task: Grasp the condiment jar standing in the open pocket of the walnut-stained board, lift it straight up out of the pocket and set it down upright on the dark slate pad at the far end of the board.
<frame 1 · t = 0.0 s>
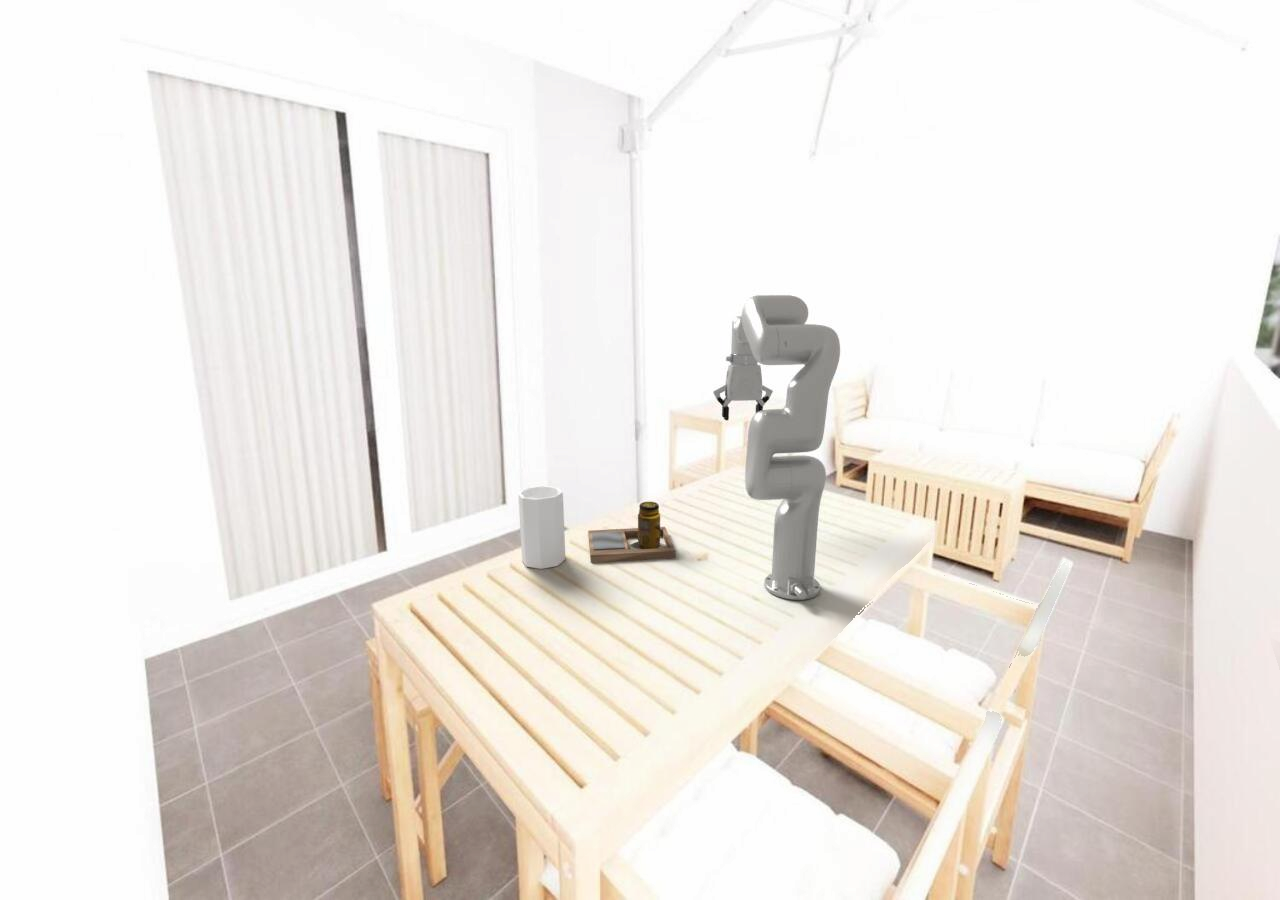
hand: (742, 419, 175), 31 cm above the table, fingers open, 9 cm apart
cup: (543, 560, 155), on the table
pocket board: (630, 547, 163), on the table
condiment: (646, 547, 163), resting in pocket board
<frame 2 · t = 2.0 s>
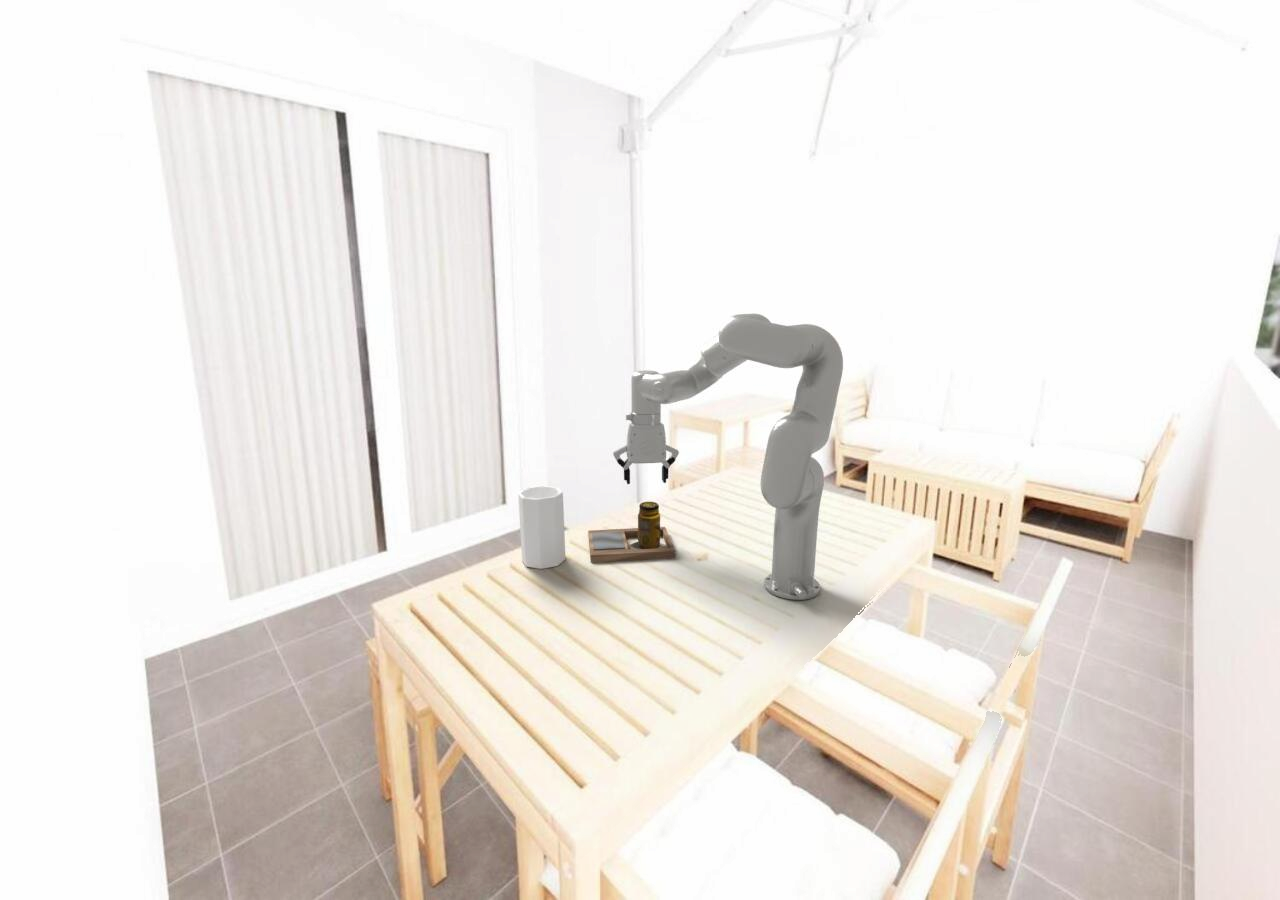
hand: (646, 482, 159), 18 cm above the table, fingers open, 9 cm apart
nothing on the table moved.
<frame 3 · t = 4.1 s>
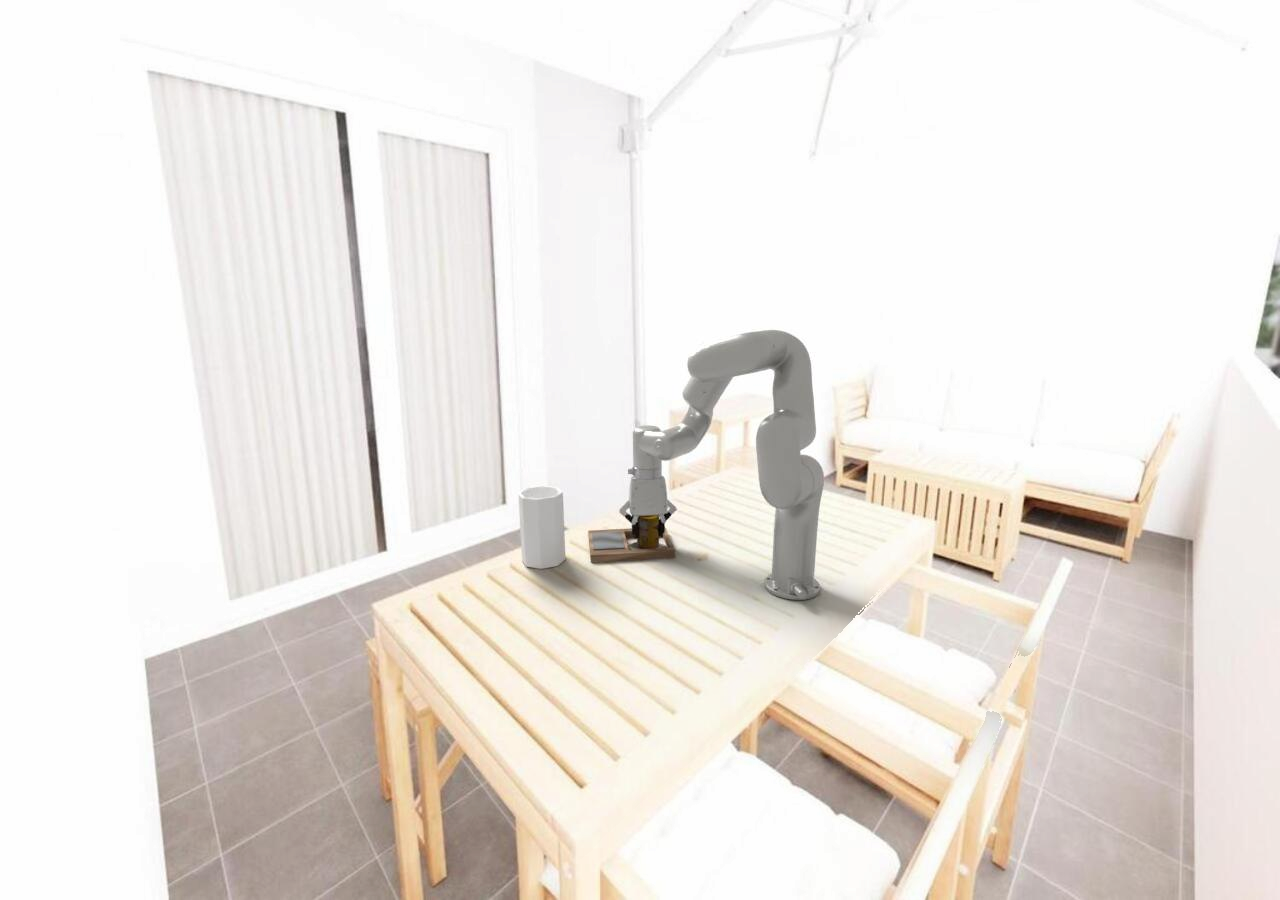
hand: (648, 535, 163), 3 cm above the table, fingers closed on condiment, 6 cm apart
condiment: (645, 547, 163), resting in pocket board, touching gripper
everything else where it was.
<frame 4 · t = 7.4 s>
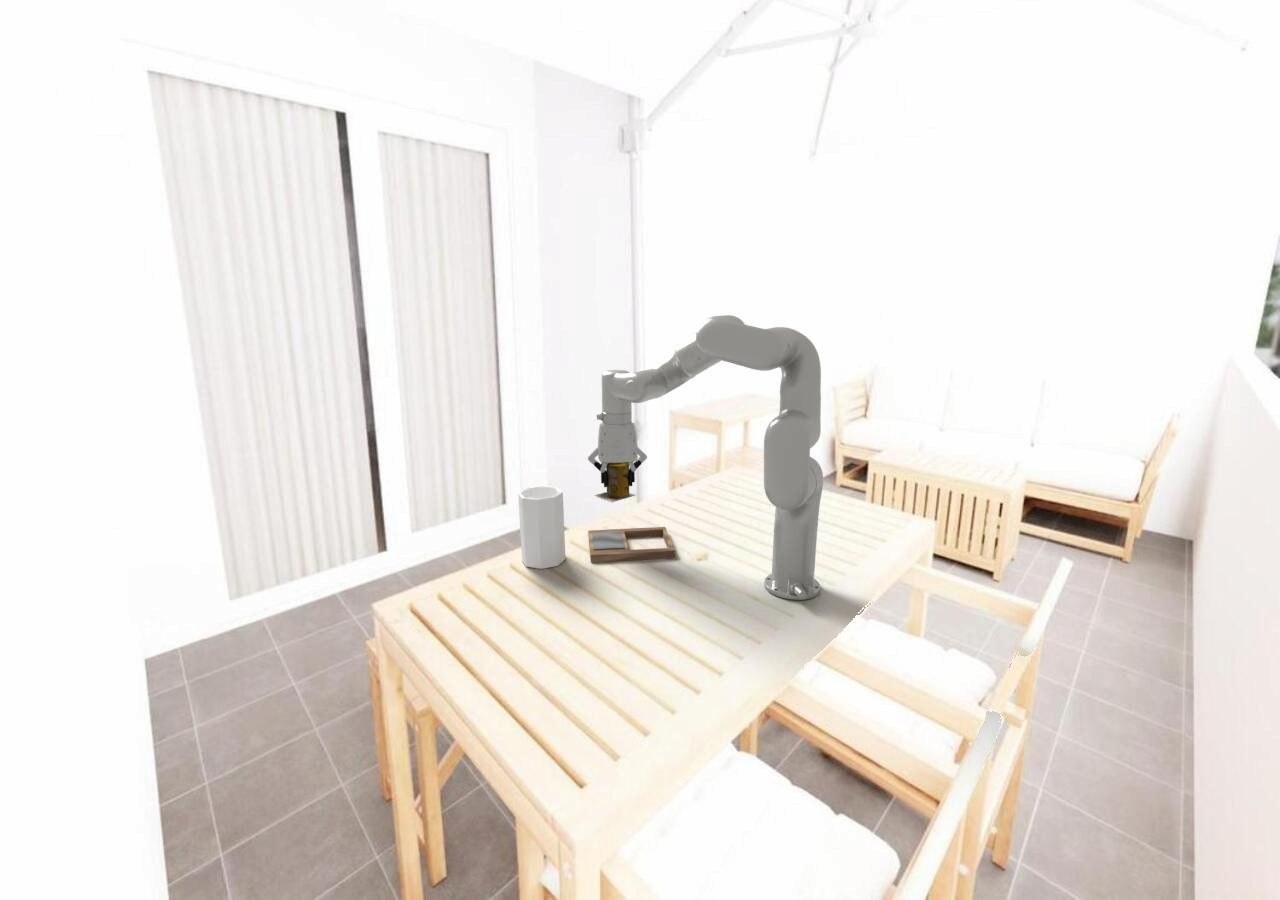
hand: (617, 484, 158), 18 cm above the table, fingers closed on condiment, 6 cm apart
condiment: (615, 496, 159), point 15 cm above the table, touching gripper
everything else where it was.
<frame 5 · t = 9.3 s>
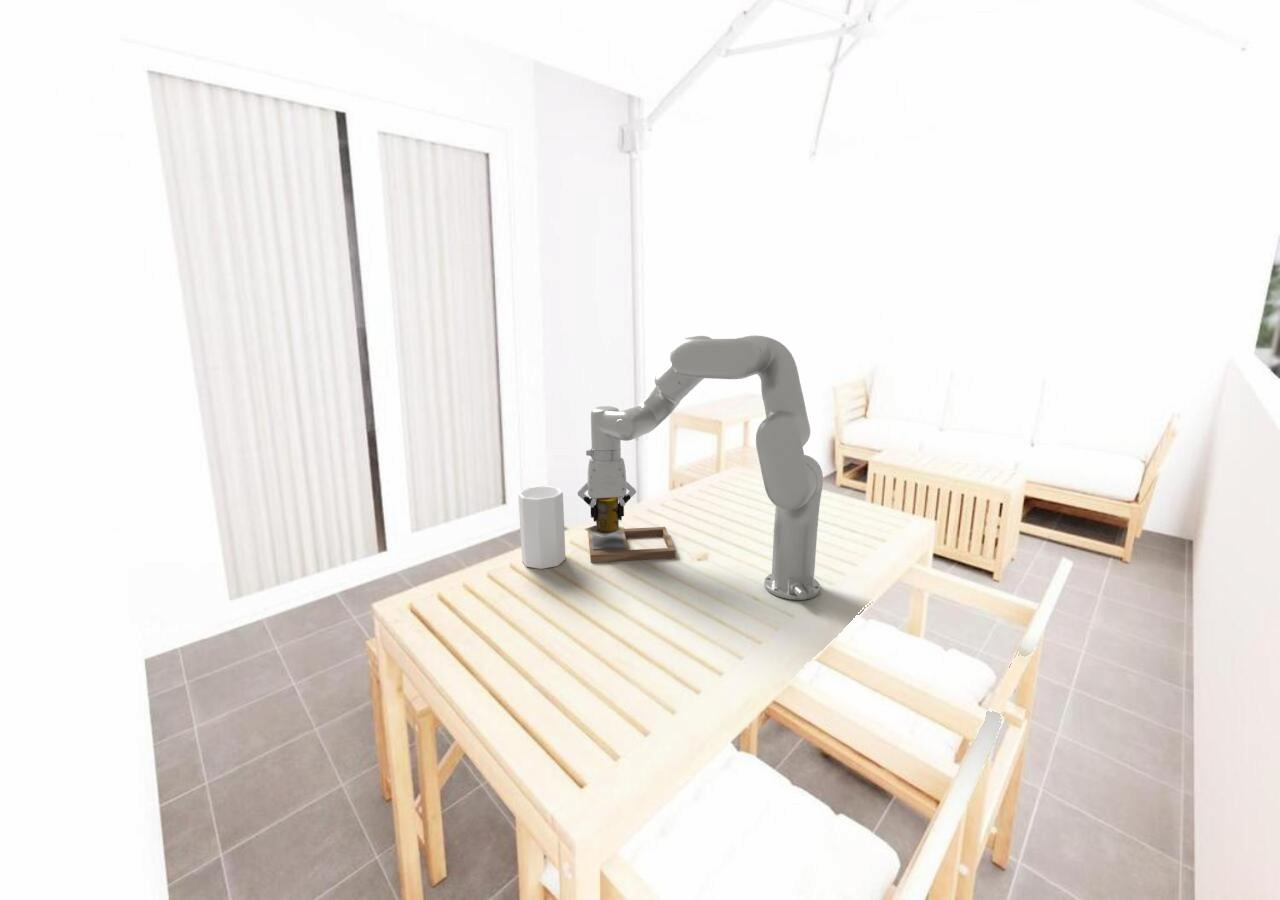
hand: (607, 518, 160), 8 cm above the table, fingers closed on condiment, 6 cm apart
condiment: (604, 530, 161), point 5 cm above the table, touching gripper
everything else where it was.
when the fingers open (7 cm above the table, at t = 10.6 s): condiment drops 1 cm, resting on pocket board.
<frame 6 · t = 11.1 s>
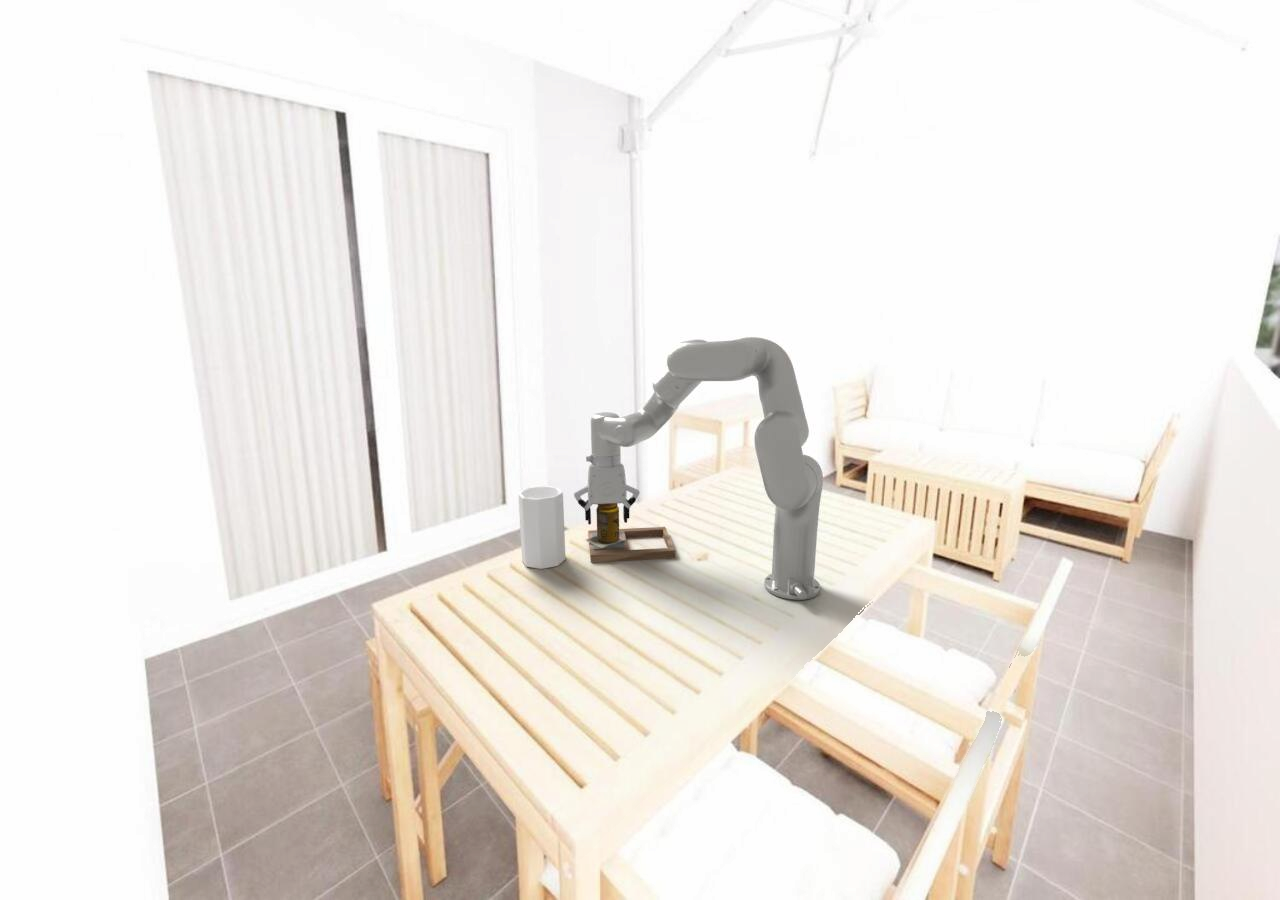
hand: (607, 521, 160), 8 cm above the table, fingers open, 9 cm apart
condiment: (605, 541, 162), point 2 cm above the table, touching pocket board
everything else where it was.
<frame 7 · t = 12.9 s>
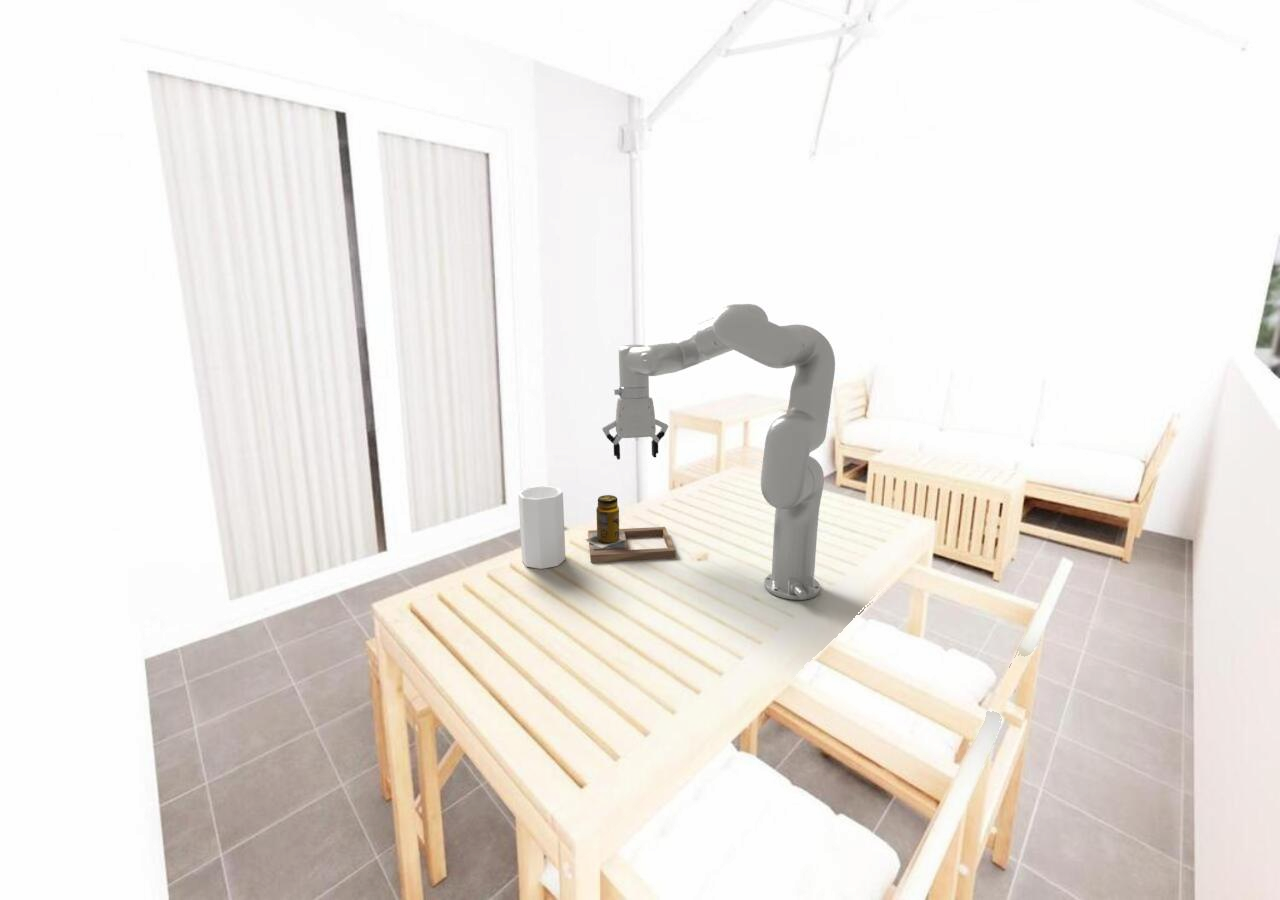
hand: (636, 457, 159), 25 cm above the table, fingers open, 9 cm apart
nothing on the table moved.
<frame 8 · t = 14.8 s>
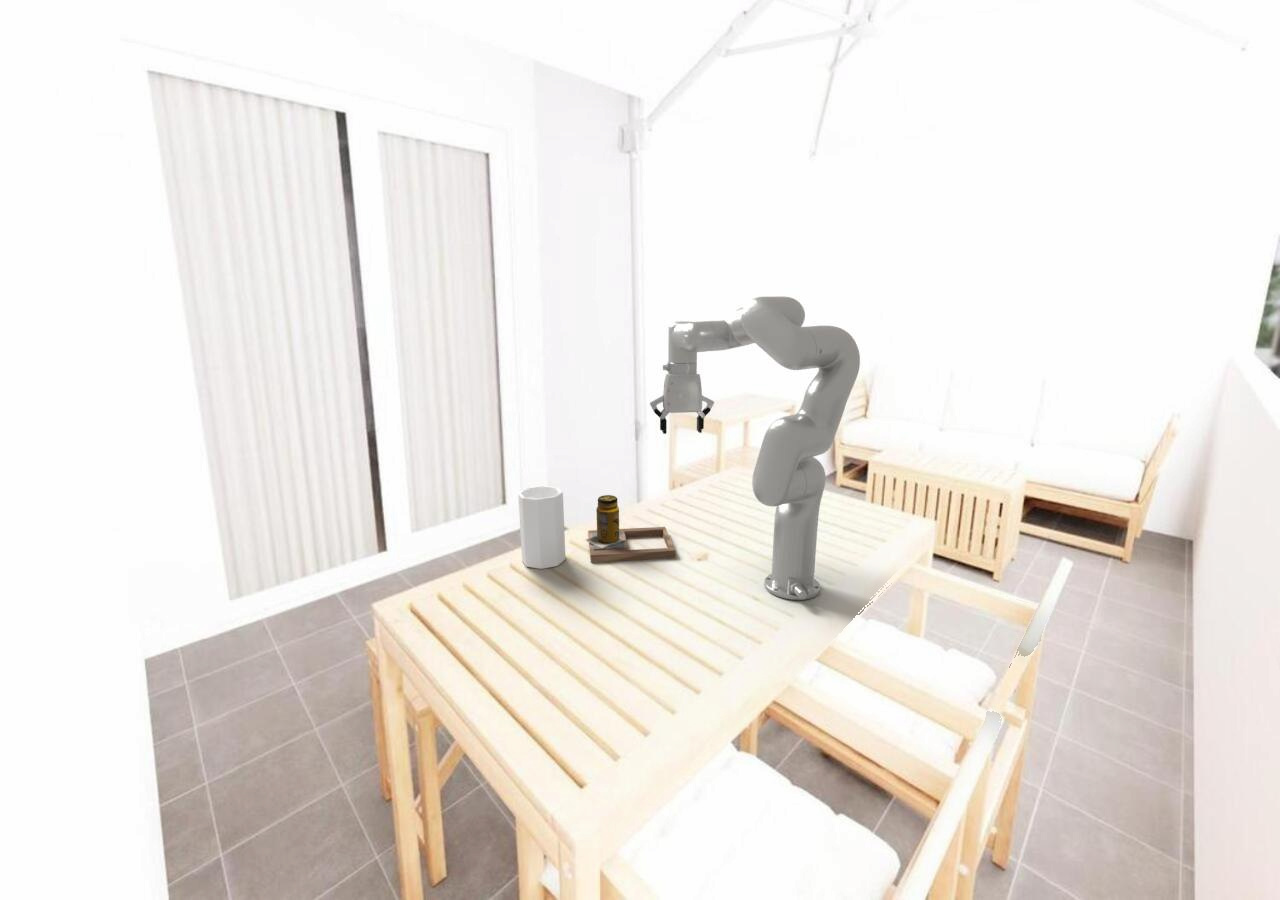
hand: (681, 432, 162), 30 cm above the table, fingers open, 9 cm apart
nothing on the table moved.
at the end: condiment inside the target area on the pocket board (0.6 cm from its centre), point 2.1 cm above the pocket board's base; condiment tilted 0°; the gripper is holding nothing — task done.
